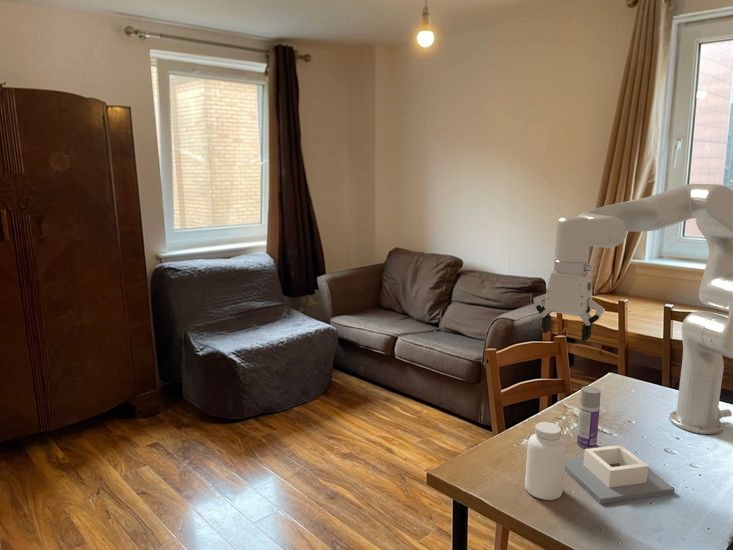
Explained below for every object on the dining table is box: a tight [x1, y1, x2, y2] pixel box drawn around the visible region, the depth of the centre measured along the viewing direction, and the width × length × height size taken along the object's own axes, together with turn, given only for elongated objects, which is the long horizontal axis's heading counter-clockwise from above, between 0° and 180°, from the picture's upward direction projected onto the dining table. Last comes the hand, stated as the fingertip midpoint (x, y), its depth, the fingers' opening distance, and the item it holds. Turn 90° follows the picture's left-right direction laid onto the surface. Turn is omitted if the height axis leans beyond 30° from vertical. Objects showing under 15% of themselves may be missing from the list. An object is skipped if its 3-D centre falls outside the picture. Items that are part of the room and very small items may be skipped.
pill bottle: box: [524, 421, 567, 501], centre depth 118 cm, size 8×8×15 cm
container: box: [576, 385, 602, 450], centre depth 138 cm, size 5×5×15 cm
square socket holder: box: [564, 444, 676, 505], centre depth 124 cm, size 18×16×5 cm
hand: (565, 335), depth 135 cm, fingers open, 9 cm apart
